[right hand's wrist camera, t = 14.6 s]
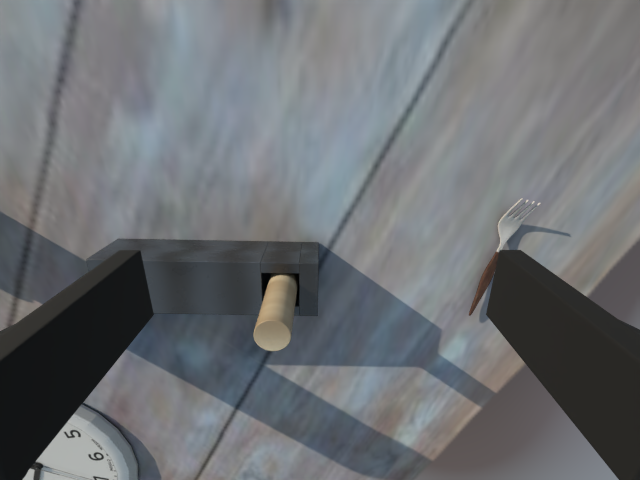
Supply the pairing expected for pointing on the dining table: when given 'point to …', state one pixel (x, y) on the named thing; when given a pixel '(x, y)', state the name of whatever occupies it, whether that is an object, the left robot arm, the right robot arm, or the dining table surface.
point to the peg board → (220, 273)
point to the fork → (501, 246)
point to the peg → (277, 312)
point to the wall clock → (86, 452)
